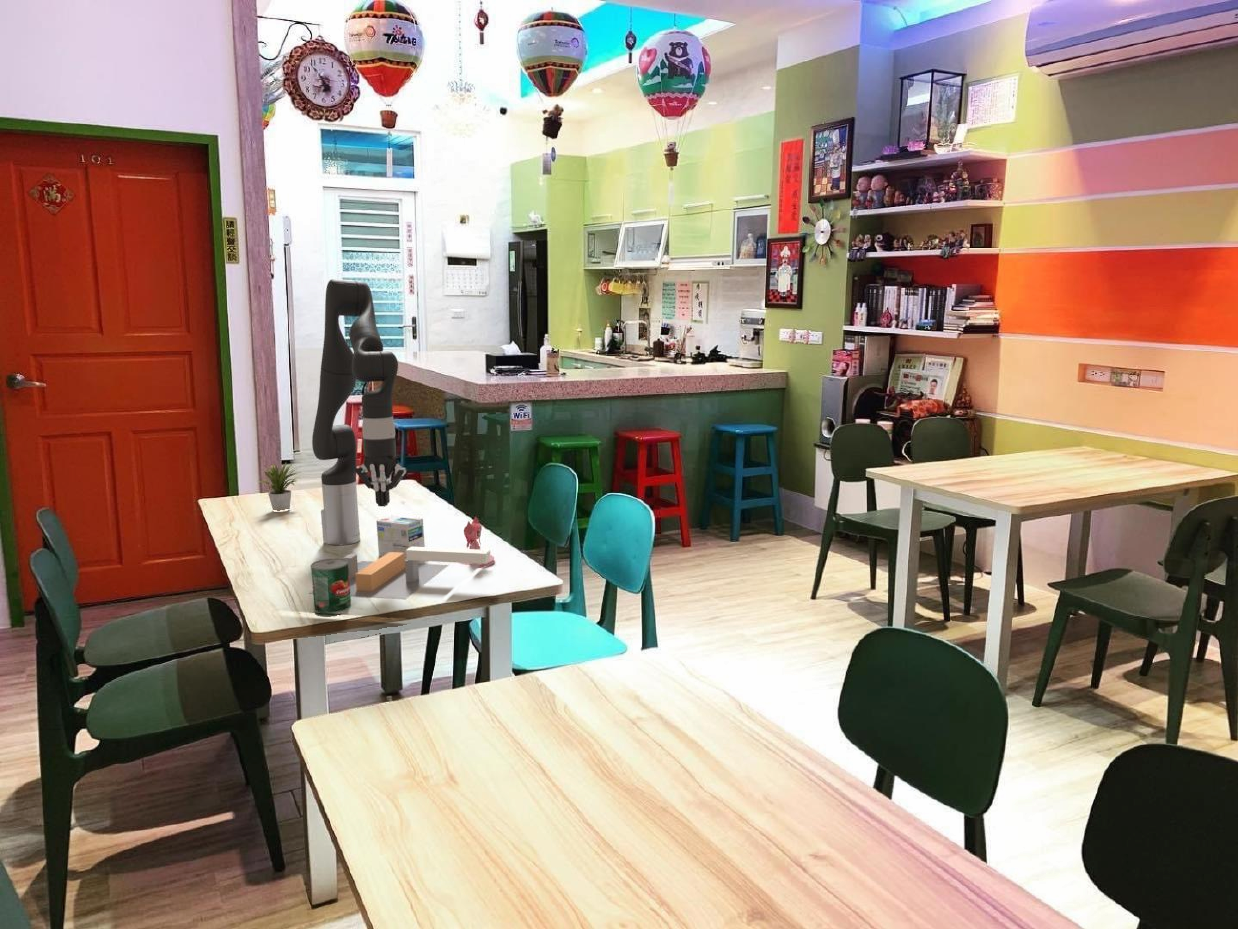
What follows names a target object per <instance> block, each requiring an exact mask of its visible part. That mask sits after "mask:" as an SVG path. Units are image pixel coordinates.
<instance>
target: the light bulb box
mask: <svg viewBox="0 0 1238 929" xmlns="http://www.w3.org/2000/svg"><path fill="white" fill-rule="evenodd" d="M375 523H376V533H377V534H376V536H377V547H378V556H379V557H383V556H384V555H386V554H387V553H389V552H400V553H404V554H405V560H407V558H406V550H407V549H408V548H410V547H426V545H425V532H424V519H423V518H418V517H408V516H398V515H389V516H387V517H383V518H380V519H377V520H376V522H375Z"/></svg>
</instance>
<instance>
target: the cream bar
mask: <svg viewBox="0 0 1238 929" xmlns="http://www.w3.org/2000/svg"><path fill="white" fill-rule="evenodd" d="M490 555H491V549H481V550H476V549H470V548H454V547H453V548H451V547H450V548H449V547H430V546H429V547H427V546H425V547H410V548H408V549H407V550H406V558H407V560H414V561H418V562H437V563H438V562H439V563H458V564H460V563H476V564H479V565H481V564H487V563H488V562H489V561H490Z"/></svg>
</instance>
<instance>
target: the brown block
mask: <svg viewBox="0 0 1238 929" xmlns="http://www.w3.org/2000/svg"><path fill="white" fill-rule="evenodd" d="M405 560H406V559H405V554H404V553H400V552H389V553H387V554H386V555H384V556H380V557H379V558H378V559H376V560H375V562H373V563H372V564H370V565H369V566H367V567H365V568H364V569H362V570H361V571H359V572H358V573H356V574H355V575H356V589H357V590H362V591H373V590H375V589H376V588H378V587H379V586H380V585H382V584H383V583H385V582H386V581H387V580H389V579H390V578H392V577H393V576H395V575H396V574H397V573H399V572H400V571H402V570H403V569H405Z"/></svg>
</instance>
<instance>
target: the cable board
mask: <svg viewBox="0 0 1238 929" xmlns="http://www.w3.org/2000/svg"><path fill="white" fill-rule="evenodd" d="M342 559H346V560H347V561H348V569H349V583H350V596H351V597H359V598H376V599H394V600H395V599H396V600H406V599H408V598H409V597H410V596H412V595H413V594H414V593H415V592H417V591H418V590H419V589H420V588H421V587H423V586H424V585H425V584H427V583H428V582H429V581H430V580H432V579H433V578H434V577H436V576H437V575H439V573H441V572H442V571H443V570H445V569H446V568H447V567H448V566H449V564H438V563H437V564H434V563H433V564H432V563H419V561H414V560H406V559H405V569H403V570H402V571H400V572H399V573H397V574H396V575H395V576H393V577H392V578H390V579H389V580H387V581H386V582H385V583H383V584H382V585H380V586H379V587H378V588H376V589H375V590H373V591H362V590H357V589H356V575H355V574H356V573H358V572H359V571H361V570H362V569H364V568H365V567H367V566H369V565H370V564H372V563H373V562H375V561H376V560H375V561H374V560H373V561H372V560H360V561H359V562H358V555H357V554H349V553H348V554H347V555H345V556H344V557H343V558H342ZM308 594H309V595H313V590H312V591H310V592H309V593H308Z"/></svg>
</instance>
